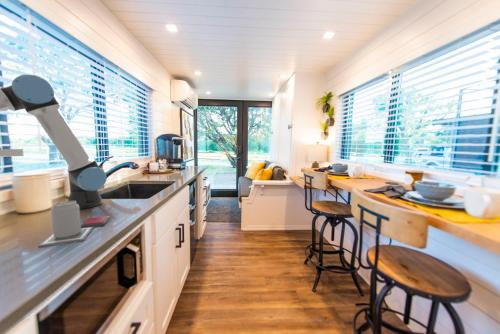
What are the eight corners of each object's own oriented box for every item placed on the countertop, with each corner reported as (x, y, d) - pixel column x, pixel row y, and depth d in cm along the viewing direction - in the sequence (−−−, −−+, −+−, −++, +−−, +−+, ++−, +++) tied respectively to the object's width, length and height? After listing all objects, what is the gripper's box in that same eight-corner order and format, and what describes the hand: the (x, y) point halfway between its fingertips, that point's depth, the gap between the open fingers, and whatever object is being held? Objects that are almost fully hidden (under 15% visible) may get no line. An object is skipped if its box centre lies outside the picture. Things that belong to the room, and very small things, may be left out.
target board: (55, 233, 80) (55, 231, 80) (93, 228, 85) (93, 226, 84) (38, 247, 69) (38, 245, 69) (84, 240, 74) (83, 238, 73)
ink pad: (87, 221, 92) (87, 217, 92) (109, 218, 95) (109, 215, 95) (80, 228, 84) (80, 224, 84) (104, 225, 87) (104, 222, 87)
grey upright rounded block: (65, 240, 72) (62, 206, 71) (48, 238, 74) (44, 204, 72) (86, 231, 80) (84, 200, 78) (70, 230, 81) (67, 199, 80)
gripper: (-43, 163, 80) (31, 161, 88) (-123, 170, 57) (-13, 167, 66) (-46, 143, 79) (29, 142, 88) (-129, 142, 57) (-16, 142, 65)
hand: (11, 153), depth 77 cm, fingers open, 13 cm apart
